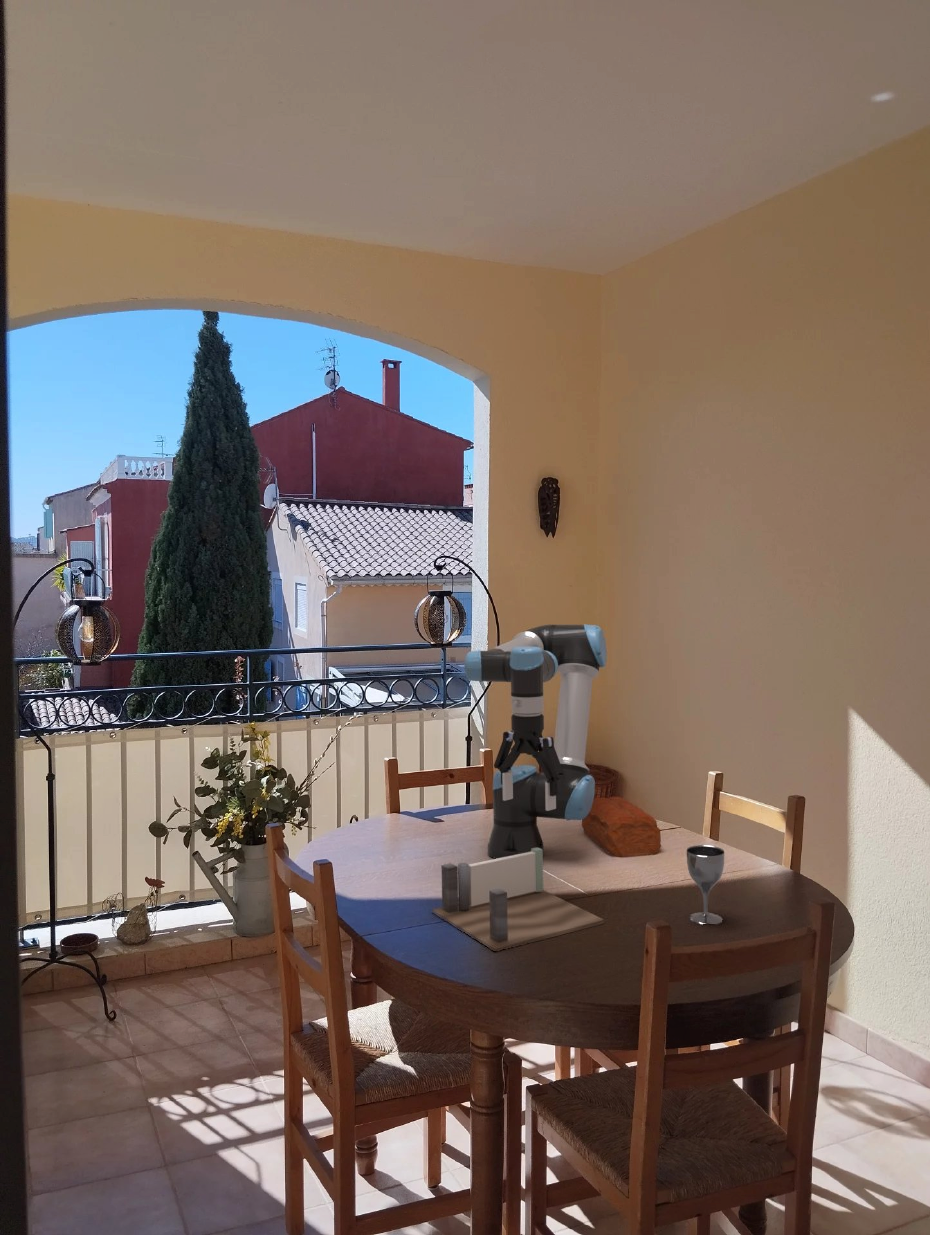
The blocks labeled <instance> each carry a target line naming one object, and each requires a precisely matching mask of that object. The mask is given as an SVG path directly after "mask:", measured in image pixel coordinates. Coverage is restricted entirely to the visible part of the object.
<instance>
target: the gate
mask: <svg viewBox="0 0 930 1235" xmlns="http://www.w3.org/2000/svg"><path fill="white" fill-rule="evenodd" d="M543 856H544V854H543V849H540V848H538V847H537V848H532V849H531V852H527V853H522V854H517V855H512V856H507V857H502V858H498V859H494V858H492V859H488V860H484V861H480V862H474V863H470V864H469V863H467V862H460V863H458V864H457V867H458V903H459V910H462V911H465V910H469V905H471V906H474V905H478V904H483V903H487V902H489V890H494V889H498V888H500V889H501V890H503V891H505V892H507V898H509V897H513V896H517V895H521V894H526V893H530V892H534V891H535V892H540V891H543V890H544V865H543V864H544V863H543V862H544V861H543Z"/></svg>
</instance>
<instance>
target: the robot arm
mask: <svg viewBox="0 0 930 1235" xmlns="http://www.w3.org/2000/svg"><path fill="white" fill-rule="evenodd" d="M607 657H608V652H607V644H606V638H605V635H604V632H603V629H602V628H601V627H600V626H599V625H594V624H587V623H584V624H544V625H543V624H542V625H539V626H535V627H531V628H529V629H526V630H522V631H521V632H519V633H517V634H515V635H514V636H513V638H512V640H510V641H507V642H505V643H502V644H499V645H497V646H495V647H492V648H491V649H488V650H481V649H478V650H471V651H469V652H467V654H466V656H465V658H464V665H463V666H464V667H463V668H464V674H465V677H466V678H467V679H468V681H470V682H471V681H472V682H479V683H482V682H486V683H487V682H497V683H499V682H500V683H502V682H503V683H510V700H511V701H510V705H511V708H510V709H511V712H512V715H511V716H510V720H511V730H508V731H504V732H503V733H502V741H501V745H500V748H499V749H498V750H499V751H498V752H497V756H496V758H495V761H494V764H493V767H494V769H497V771H495V773H494V774H493V776H492V777H493V778H492V779H493V780H492V787H491V788H492V806H493V807H492V810H493V811H492V812H493V826H492V830H491V833H490V837H489V841H488V842H487V855H488V854H489V855H490V856H491V857H490V856H489V855H488V856H489V857H490V858H492V857H495V858H497V859H498V858H502V857H507V856H512V855H517V854H522V853H527V852H531V849H532V848H537V847H538V848H540V849H543V855H544V854H545V844H544V842H543V839H542V835H541V832H540V829H539V826H538V818H543V819H545V818H546V819H556V820H557V819H558V820H566V821H582V819H584V818H586V817H587V815H588V814H589V812H590V810H591V807H592V804H593V799H594V798H595V792H596V790H595V787H596V782H595V778H594V777H593V776H592V775H591V774H590V769H589V768H588V766H587V765H586V763H585V762H586V760H585V759H586V750H587V740H588V731H589V729H588V728H589V719H590V710H591V709H590V708H591V700H592V698H591V697H592V687H593V679H595V678H596V677H598V676H599V673H600V668H604V667H606V666H607V661H608V659H607ZM557 673H558V674H559V675H560V686H559V696H558V703H557V704H558V705H557V714H556V724H555V733H554V737H552V736H549V737H543V730H544V729H545V721H544V720H545V716H544V715H543V714H542V713H544V711H545V710H544V709H545V706H544V704H545V703H544V683H547V682H549V681H551V680H552V679H553V678H554V677H555V676H556V674H557ZM521 754H526V755H529V756H532V758H534V759H535V760H536V762H537V764H538V766H539V767H540V769H541V770H542V772H538V769H537V767H536V766H534V765H531V764H527V765H526V764H523V765H521V764H520V765H514V764H515V763H516V761H517V760H518V758H519V757H520V755H521ZM513 765H514V766H513Z"/></svg>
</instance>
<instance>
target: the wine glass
mask: <svg viewBox="0 0 930 1235" xmlns="http://www.w3.org/2000/svg"><path fill="white" fill-rule="evenodd" d="M686 864H687V869H688V873H689V876H690V878H691V879H692V880H693V882H694V883H695V884H696V885H697V886H698V888H699V889H700V890H701V891H700V892H701V893H702V900H703V912H694V913H692V914H689V916H690V917H688V919H689V918H690V919H689V920H690V921H691V922H693V923H694V924H697V925H699V924H700V925H703V924H715V925H719V924H721V923H723V921H722V920H723V918H722V916H721V915H718V914H716V913H712V912H709V911H708V902H709V894H710V891H711V890H712V889H713V887H714V886H715V885H716V884H717V883H718V882H719V881H720V880H721V878H722V876H723V873H724V868H725V851H724V849H722V848H720V847H717V846H714V845H707V844H704V845H703V844H700V845H693V846H692V845H691V846H689V847H687V848H686Z"/></svg>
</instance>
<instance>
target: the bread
mask: <svg viewBox="0 0 930 1235" xmlns="http://www.w3.org/2000/svg"><path fill="white" fill-rule="evenodd" d="M581 828H582V829H583V832H584V833H585V835H586V836H588V837H589V838H590V839H591V840H592V841H593V842H595V843H596V844H597V845H598V846H599V847H601V848H602V849H603V850H604V851H605V852H607V853H608V854H610V855H611V856H613V857H616V858H631V857H644V856H653V855H656V854H658V852H659V851H660V849H661V847H662V844H661V843H662V842H661V841H662V840H661V839H662V837H661V836H662V835H661V829H660V828H659V827H658V822H657V820H656V819H655V818H654V817H653V816H652V815H650V814H649V813H647V812H645V811H644V810H643V809H642V808H639V806H637V805H636V804H633V803H632V802H630V801H629V800H627V799H625V798H623V797H620V796H610V797H594V799H593V804H592V807H591V810H590V812H589V814H588V815H587V817H586V818H584V819H582V820H581Z"/></svg>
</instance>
